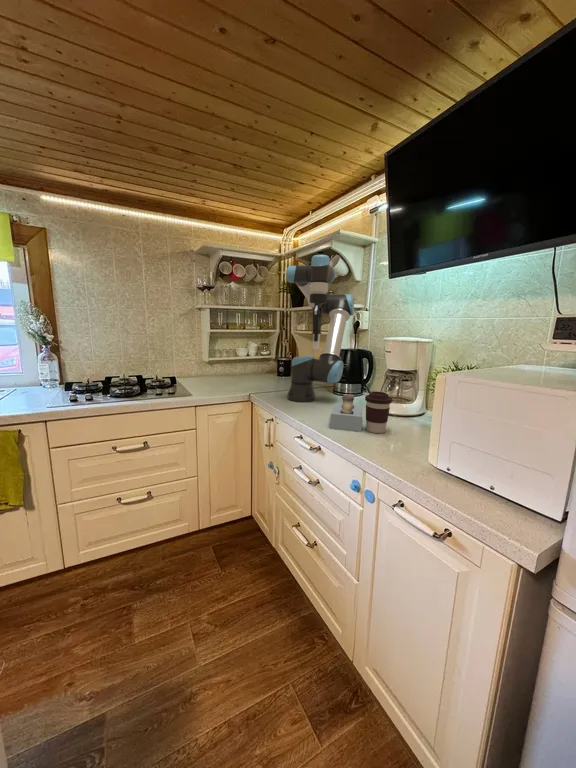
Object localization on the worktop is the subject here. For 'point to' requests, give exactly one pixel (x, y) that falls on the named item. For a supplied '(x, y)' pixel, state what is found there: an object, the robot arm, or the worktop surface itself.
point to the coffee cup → (377, 411)
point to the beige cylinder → (347, 404)
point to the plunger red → (349, 395)
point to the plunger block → (346, 418)
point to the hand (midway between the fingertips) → (315, 348)
